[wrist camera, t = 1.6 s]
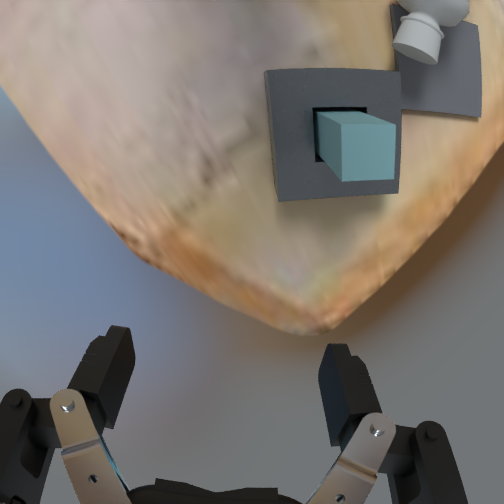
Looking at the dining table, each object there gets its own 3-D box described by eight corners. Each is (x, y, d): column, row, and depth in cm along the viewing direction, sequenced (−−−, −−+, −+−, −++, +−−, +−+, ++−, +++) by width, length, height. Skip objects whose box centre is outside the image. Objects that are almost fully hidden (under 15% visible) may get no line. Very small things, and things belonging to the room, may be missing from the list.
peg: (307, 107, 29) (340, 124, 19) (345, 106, 29) (395, 124, 18) (309, 145, 31) (341, 181, 21) (346, 143, 31) (393, 179, 21)
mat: (389, 5, 22) (392, 3, 22) (473, 25, 22) (477, 25, 21) (397, 108, 28) (400, 109, 28) (477, 116, 28) (481, 117, 27)
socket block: (263, 72, 27) (267, 70, 23) (379, 71, 26) (400, 71, 22) (274, 184, 33) (278, 201, 29) (379, 177, 33) (398, 193, 28)
